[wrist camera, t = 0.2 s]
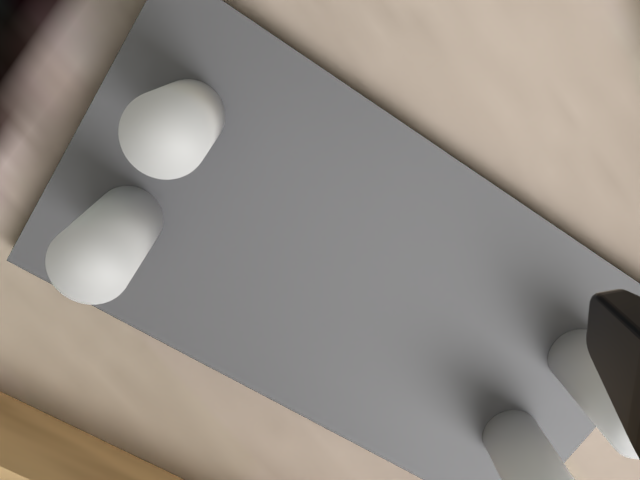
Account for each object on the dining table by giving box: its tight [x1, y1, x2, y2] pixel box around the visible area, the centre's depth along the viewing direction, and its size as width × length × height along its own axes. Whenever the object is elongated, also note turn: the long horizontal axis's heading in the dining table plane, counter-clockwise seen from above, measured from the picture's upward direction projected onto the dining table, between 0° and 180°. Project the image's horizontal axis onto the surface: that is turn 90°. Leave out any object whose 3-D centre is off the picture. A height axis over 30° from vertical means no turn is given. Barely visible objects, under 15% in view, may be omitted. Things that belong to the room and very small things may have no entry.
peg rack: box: [7, 0, 640, 480], centre depth 22 cm, size 24×12×6 cm, turn 57°
